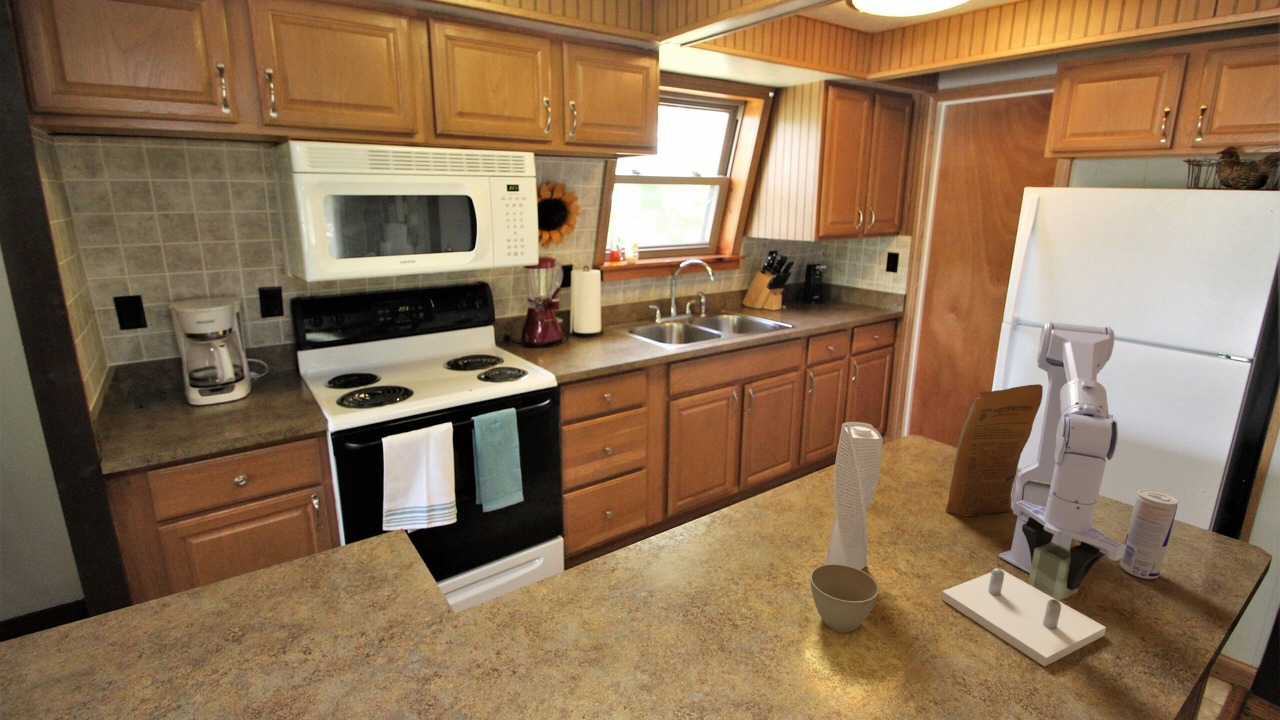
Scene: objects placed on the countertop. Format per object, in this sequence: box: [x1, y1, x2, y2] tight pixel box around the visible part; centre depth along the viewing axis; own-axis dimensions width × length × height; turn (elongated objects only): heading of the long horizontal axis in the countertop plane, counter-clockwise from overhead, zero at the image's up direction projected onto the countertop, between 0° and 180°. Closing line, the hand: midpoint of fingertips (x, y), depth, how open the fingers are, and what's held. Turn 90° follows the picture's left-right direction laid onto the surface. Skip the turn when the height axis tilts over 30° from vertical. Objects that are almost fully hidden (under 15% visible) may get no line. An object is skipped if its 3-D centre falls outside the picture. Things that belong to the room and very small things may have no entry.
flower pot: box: [810, 563, 880, 633], centre depth 97 cm, size 10×10×7 cm
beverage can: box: [1119, 488, 1179, 580], centre depth 111 cm, size 6×6×15 cm
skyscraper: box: [824, 421, 883, 570], centre depth 109 cm, size 8×8×28 cm
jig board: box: [940, 567, 1107, 667], centre depth 99 cm, size 15×17×6 cm
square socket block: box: [1027, 542, 1079, 601], centre depth 94 cm, size 5×5×6 cm
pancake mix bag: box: [945, 383, 1044, 517], centre depth 130 cm, size 7×19×28 cm, turn 103°
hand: (1054, 577), depth 94 cm, fingers closed on square socket block, 5 cm apart
